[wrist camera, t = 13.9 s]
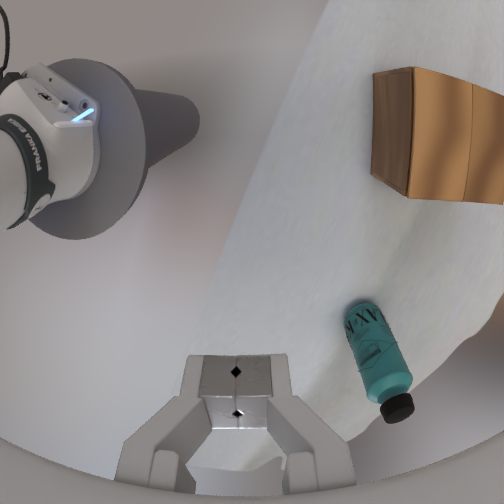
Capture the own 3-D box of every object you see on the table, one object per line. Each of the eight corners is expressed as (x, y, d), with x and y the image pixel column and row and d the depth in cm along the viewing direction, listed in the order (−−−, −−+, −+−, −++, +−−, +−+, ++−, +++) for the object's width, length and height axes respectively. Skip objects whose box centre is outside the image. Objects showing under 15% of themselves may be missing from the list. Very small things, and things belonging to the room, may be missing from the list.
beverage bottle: (385, 301, 44) (436, 400, 26) (363, 331, 47) (401, 430, 29) (353, 290, 43) (400, 398, 25) (332, 323, 46) (364, 430, 28)
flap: (406, 197, 26) (408, 198, 26) (413, 66, 20) (415, 66, 20) (461, 200, 26) (463, 201, 25) (470, 83, 20) (472, 83, 19)
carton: (370, 174, 35) (407, 199, 26) (372, 73, 29) (414, 65, 20) (458, 180, 35) (503, 205, 25) (464, 94, 29) (513, 100, 19)
